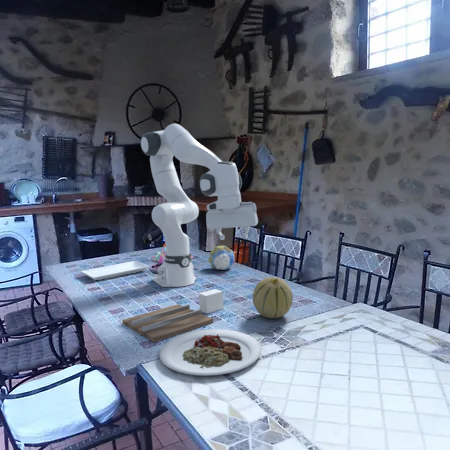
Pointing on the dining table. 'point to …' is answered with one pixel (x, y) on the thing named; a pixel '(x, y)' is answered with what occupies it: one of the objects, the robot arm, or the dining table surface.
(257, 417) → the dining table surface
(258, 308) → the cantaloupe
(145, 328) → the rail panel
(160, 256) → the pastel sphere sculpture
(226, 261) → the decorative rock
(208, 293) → the rail module
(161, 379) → the dining table surface
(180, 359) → the plated food
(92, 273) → the tray
